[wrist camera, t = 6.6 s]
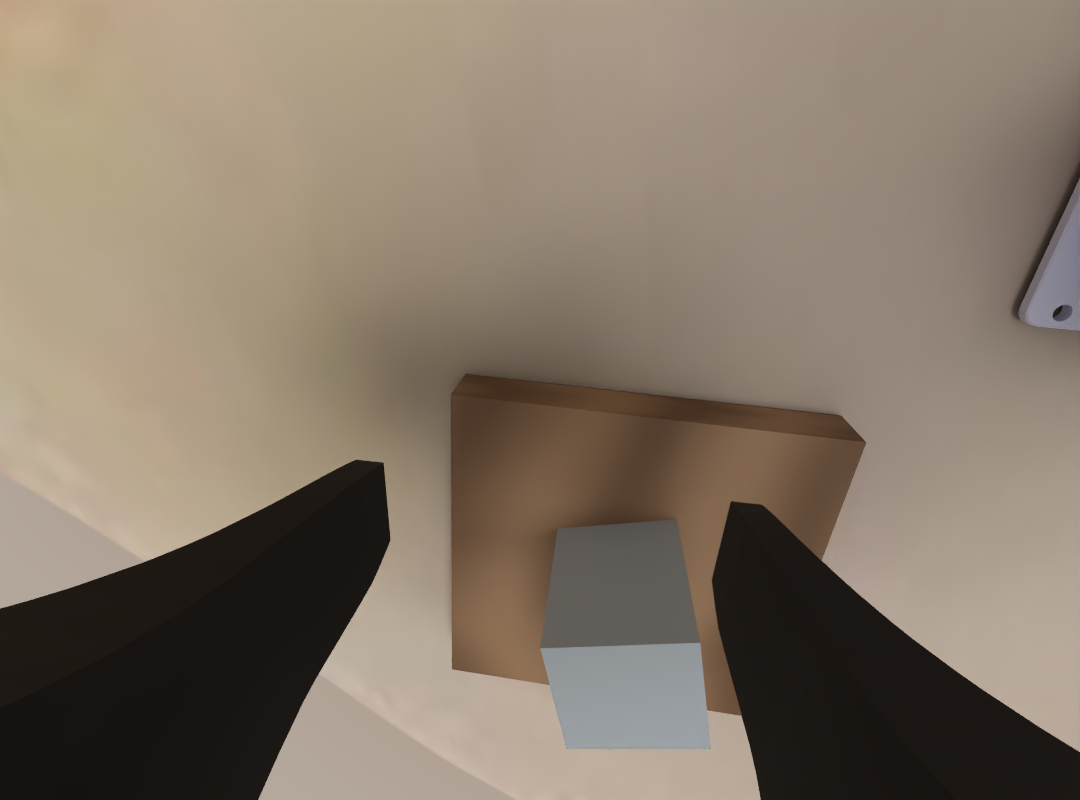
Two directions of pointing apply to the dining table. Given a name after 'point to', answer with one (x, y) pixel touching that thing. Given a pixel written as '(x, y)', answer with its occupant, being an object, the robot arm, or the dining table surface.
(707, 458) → the board
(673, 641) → the block
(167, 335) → the dining table surface
